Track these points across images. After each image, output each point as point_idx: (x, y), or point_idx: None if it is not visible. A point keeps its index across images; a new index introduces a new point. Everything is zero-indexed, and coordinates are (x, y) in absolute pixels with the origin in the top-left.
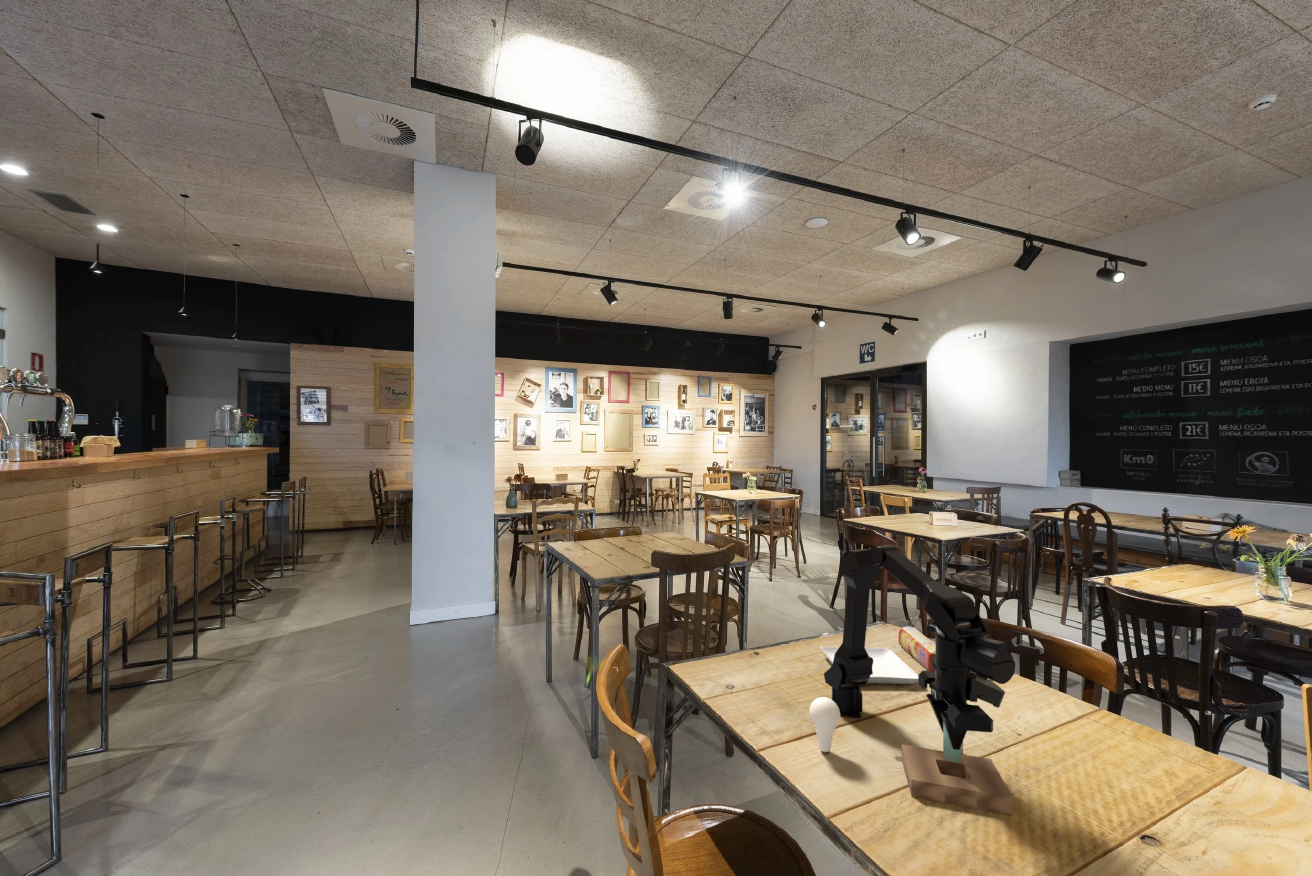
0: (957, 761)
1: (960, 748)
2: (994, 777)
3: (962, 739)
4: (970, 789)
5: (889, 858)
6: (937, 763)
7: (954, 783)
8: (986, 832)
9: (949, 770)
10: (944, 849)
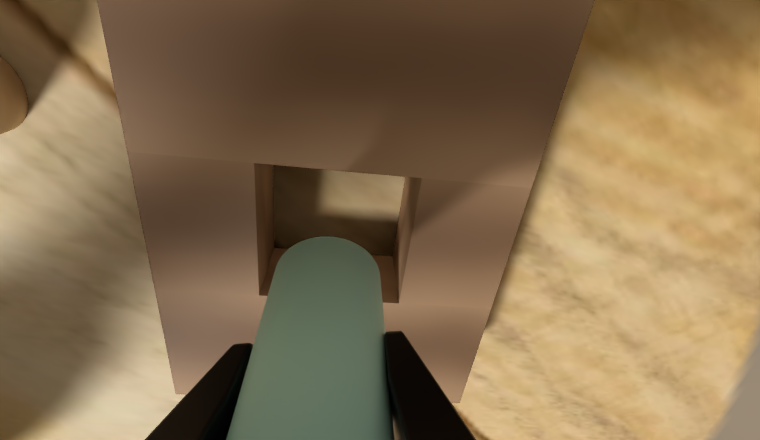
0: (378, 270)
1: (365, 309)
2: (374, 13)
3: (456, 413)
4: (518, 212)
5: (698, 426)
6: (263, 272)
7: (473, 269)
8: (649, 170)
9: (266, 209)
10: (699, 319)
